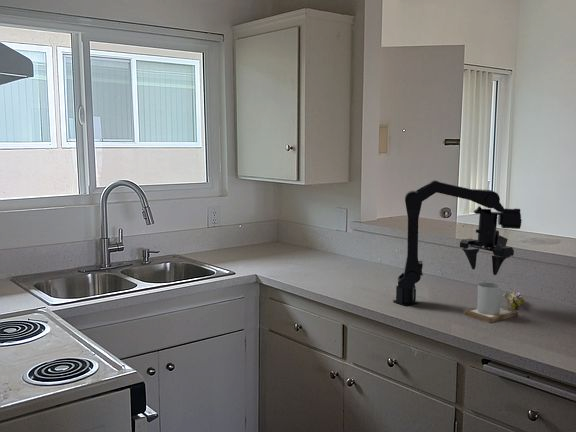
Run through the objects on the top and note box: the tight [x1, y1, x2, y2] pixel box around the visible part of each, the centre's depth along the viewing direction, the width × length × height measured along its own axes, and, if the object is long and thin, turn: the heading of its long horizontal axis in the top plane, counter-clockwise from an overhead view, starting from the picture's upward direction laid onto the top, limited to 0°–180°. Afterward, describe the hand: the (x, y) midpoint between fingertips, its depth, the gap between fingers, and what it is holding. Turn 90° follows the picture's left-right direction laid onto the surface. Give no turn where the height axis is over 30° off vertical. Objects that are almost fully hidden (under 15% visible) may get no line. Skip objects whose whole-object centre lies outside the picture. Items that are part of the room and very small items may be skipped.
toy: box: [502, 290, 525, 310], centre depth 201 cm, size 5×5×15 cm
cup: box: [476, 282, 502, 315], centre depth 188 cm, size 7×10×9 cm
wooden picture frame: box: [463, 306, 519, 323], centre depth 189 cm, size 14×10×1 cm
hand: (484, 272), depth 197 cm, fingers open, 9 cm apart
